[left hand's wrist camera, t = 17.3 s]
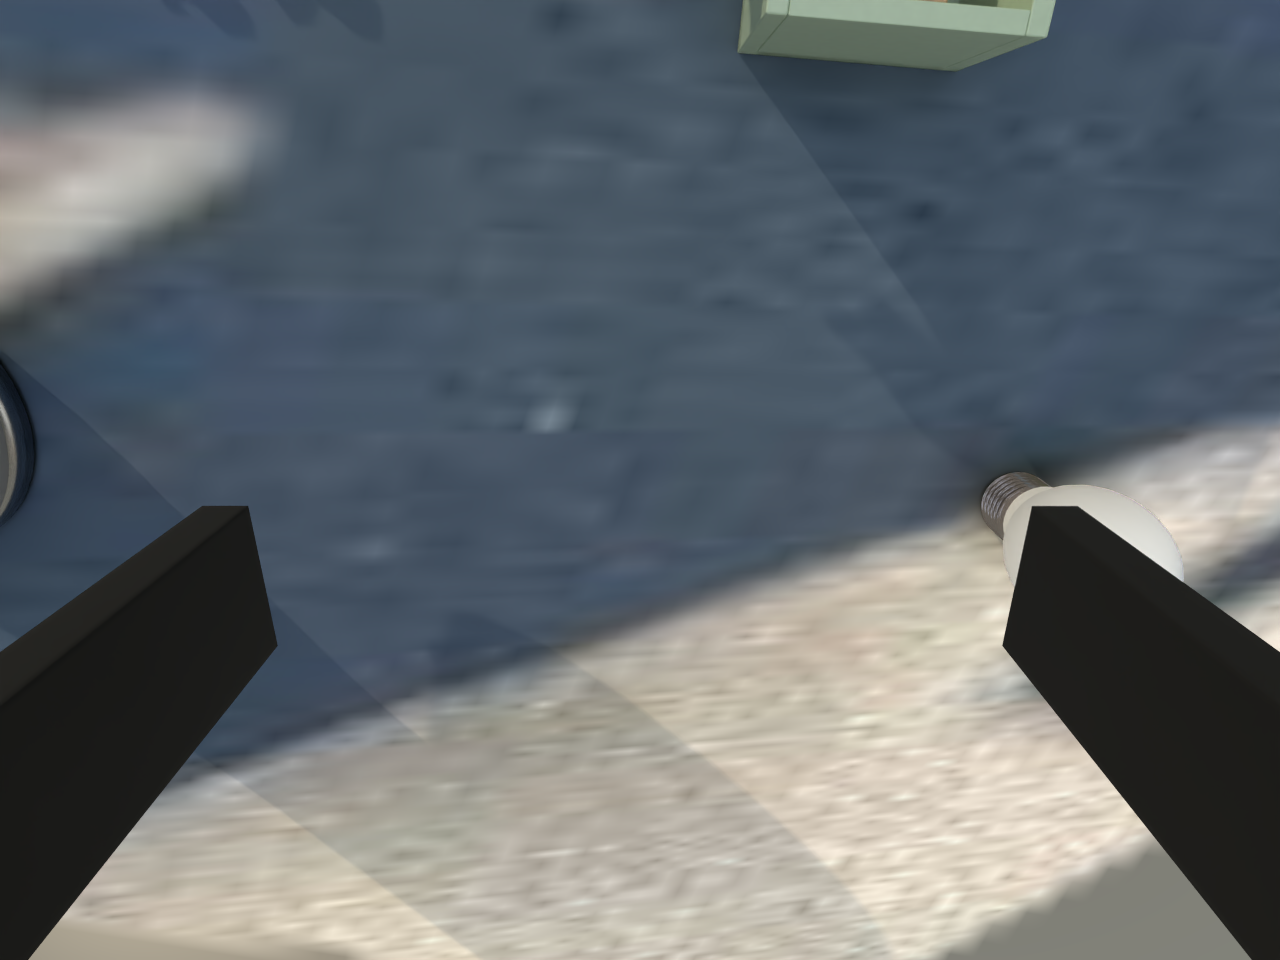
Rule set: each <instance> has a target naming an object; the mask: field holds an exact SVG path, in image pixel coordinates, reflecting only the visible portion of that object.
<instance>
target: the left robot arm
mask: <svg viewBox="0 0 1280 960" xmlns="http://www.w3.org/2000/svg"><path fill="white" fill-rule="evenodd" d="M33 465H34V445H33V438H32V431H31V427H30V423H29V420H28V416H27V413H26V411H25V408H24V405H23V402H22V400H21V398H20V396H19V394H18V392H17V390H16V388H15V386H14V384H13V383H12V381H11V379H10V377H9V376H8V374H7V373H6V371H5V370H4V368H3V367H2V365H1V364H0V526H2V525H3V524H4V523H5V522H6V521H7V520H8V519H9V518H10V517H11V516H12V515H13V514H14V513H15V512H16V510H17V509H18V508H19V506H20V505H21V503H22V501H23V500H24V497H25V495H26V493H27V491H28V488H29V485H30V482H31V478H32V473H33ZM277 646H278V645H277V641H276V636H275V631H274V626H273V622H272V617H271V612H270V607H269V603H268V598H267V593H266V588H265V584H264V579H263V574H262V569H261V565H260V560H259V555H258V551H257V546H256V541H255V536H254V532H253V527H252V522H251V517H250V513H249V508H248V506H202V507H200V508H199V509H197V510H196V511H195V512H193V513H192V514H191V515H189V516H188V517H186V518H185V519H184V520H182V521H181V522H180V523H178V524H177V525H175V526H174V527H173V528H171V529H170V530H168V531H167V532H166V533H164V534H163V535H162V536H160V537H159V538H157V539H156V540H155V541H153V542H152V543H150V544H149V545H148V546H146V547H145V548H144V549H142V550H141V551H139V552H138V553H137V554H135V555H134V556H132V557H131V558H130V559H128V560H127V561H126V562H124V563H123V564H121V565H120V566H119V567H117V568H116V569H115V570H113V571H112V572H110V573H109V574H108V575H106V576H105V577H103V578H102V579H101V580H99V581H98V582H97V583H95V584H94V585H92V586H91V587H90V588H88V589H87V590H85V591H84V592H83V593H81V594H80V595H79V596H77V597H76V598H74V599H73V600H72V601H70V602H69V603H67V604H66V605H65V606H63V607H62V608H61V609H59V610H58V611H56V612H55V613H54V614H52V615H51V616H49V617H48V618H47V619H45V620H44V621H43V622H41V623H40V624H38V625H37V626H36V627H34V628H33V629H32V630H30V631H29V632H27V633H26V634H25V635H23V636H22V637H20V638H19V639H18V640H16V641H15V642H14V643H12V644H11V645H9V646H8V647H7V648H5V649H4V650H2V651H1V652H0V960H28V959H29V958H30V957H31V955H32V954H33V953H34V952H35V950H36V949H37V948H38V947H39V945H40V944H41V943H42V942H43V940H44V939H45V938H46V936H47V935H48V934H49V933H50V932H51V930H52V929H53V928H54V927H55V925H56V924H57V923H58V922H59V920H60V919H61V918H62V916H63V915H64V914H65V913H66V911H67V910H68V909H69V908H70V906H71V905H72V904H73V903H74V901H75V900H76V899H77V898H78V896H79V895H80V894H81V893H82V891H83V890H84V889H85V888H86V886H87V885H88V884H89V882H90V881H91V880H92V879H93V877H94V876H95V875H96V874H97V872H98V871H99V870H100V869H101V867H102V866H103V865H104V864H105V862H106V861H107V860H108V859H109V857H110V856H111V855H112V854H113V852H114V851H115V850H116V849H117V847H118V846H119V845H120V843H121V842H122V841H123V840H124V838H125V837H126V836H127V835H128V833H129V832H130V831H131V830H132V828H133V827H134V826H135V825H136V823H137V822H138V821H139V820H140V818H141V817H142V816H143V815H144V813H145V812H146V811H147V809H148V808H149V807H150V806H151V804H152V803H153V802H154V801H155V799H156V798H157V797H158V796H159V794H160V793H161V792H162V791H163V789H164V788H165V787H166V786H167V784H168V783H169V782H170V781H171V779H172V778H173V777H174V775H175V774H176V773H177V772H178V770H179V769H180V768H181V767H182V765H183V764H184V763H185V762H186V760H187V759H188V758H189V757H190V755H191V754H192V753H193V752H194V750H195V749H196V748H197V747H198V745H199V744H200V743H201V742H202V740H203V739H204V738H205V736H206V735H207V734H208V733H209V731H210V730H211V729H212V728H213V726H214V725H215V724H216V723H217V721H218V720H219V719H220V718H221V716H222V715H223V714H224V713H225V711H226V710H227V709H228V708H229V706H230V705H231V704H232V702H233V701H234V700H235V699H236V697H237V696H238V695H239V694H240V692H241V691H242V690H243V689H244V687H245V686H246V685H247V684H248V682H249V681H250V680H251V679H252V677H253V676H254V675H255V674H256V672H257V671H258V670H259V669H260V667H261V666H262V665H263V663H264V662H265V661H266V660H267V658H268V657H269V656H270V655H271V653H272V652H273V651H274V650H275V648H276V647H277ZM1002 646H1003V647H1004V648H1005V650H1006V651H1007V652H1008V653H1009V655H1010V656H1011V657H1012V658H1013V660H1014V661H1015V662H1016V663H1017V665H1018V666H1019V667H1020V669H1021V670H1022V671H1023V672H1024V674H1025V675H1026V676H1027V677H1028V679H1029V680H1030V681H1031V682H1032V684H1033V685H1034V686H1035V687H1036V689H1037V690H1038V691H1039V692H1040V694H1041V695H1042V696H1043V697H1044V699H1045V700H1046V701H1047V702H1048V704H1049V705H1050V706H1051V708H1052V709H1053V710H1054V711H1055V713H1056V714H1057V715H1058V716H1059V718H1060V719H1061V720H1062V721H1063V723H1064V724H1065V725H1066V726H1067V728H1068V729H1069V730H1070V731H1071V733H1072V734H1073V735H1074V736H1075V738H1076V739H1077V740H1078V742H1079V743H1080V744H1081V745H1082V747H1083V748H1084V749H1085V750H1086V752H1087V753H1088V754H1089V755H1090V757H1091V758H1092V759H1093V760H1094V762H1095V763H1096V764H1097V765H1098V767H1099V768H1100V769H1101V770H1102V772H1103V773H1104V774H1105V775H1106V777H1107V778H1108V779H1109V781H1110V782H1111V783H1112V784H1113V786H1114V787H1115V788H1116V789H1117V791H1118V792H1119V793H1120V794H1121V796H1122V797H1123V798H1124V799H1125V801H1126V802H1127V803H1128V804H1129V806H1130V807H1131V808H1132V809H1133V811H1134V812H1135V813H1136V815H1137V816H1138V817H1139V818H1140V820H1141V821H1142V822H1143V823H1144V825H1145V826H1146V827H1147V828H1148V830H1149V831H1150V832H1151V833H1152V835H1153V836H1154V837H1155V838H1156V840H1157V841H1158V842H1159V843H1160V845H1161V846H1162V847H1163V849H1164V850H1165V851H1166V852H1167V854H1168V855H1169V856H1170V857H1171V859H1172V860H1173V861H1174V862H1175V864H1176V865H1177V866H1178V867H1179V869H1180V870H1181V871H1182V872H1183V874H1184V875H1185V876H1186V877H1187V879H1188V880H1189V881H1190V882H1191V884H1192V885H1193V886H1194V888H1195V889H1196V890H1197V891H1198V893H1199V894H1200V895H1201V896H1202V898H1203V899H1204V900H1205V901H1206V903H1207V904H1208V905H1209V906H1210V908H1211V909H1212V910H1213V911H1214V913H1215V914H1216V915H1217V916H1218V918H1219V919H1220V920H1221V922H1222V923H1223V924H1224V925H1225V927H1226V928H1227V929H1228V930H1229V932H1230V933H1231V934H1232V935H1233V937H1234V938H1235V939H1236V940H1237V942H1238V943H1239V944H1240V945H1241V947H1242V948H1243V949H1244V950H1245V952H1246V953H1247V954H1248V955H1249V957H1250V958H1251V959H1252V960H1280V652H1279V651H1278V650H1276V649H1275V648H1273V647H1272V646H1271V645H1269V644H1268V643H1266V642H1265V641H1264V640H1262V639H1261V638H1260V637H1258V636H1257V635H1255V634H1254V633H1253V632H1251V631H1250V630H1248V629H1247V628H1246V627H1244V626H1243V625H1242V624H1240V623H1239V622H1237V621H1236V620H1235V619H1233V618H1232V617H1231V616H1229V615H1228V614H1226V613H1225V612H1224V611H1222V610H1221V609H1219V608H1218V607H1217V606H1215V605H1214V604H1213V603H1211V602H1210V601H1208V600H1207V599H1206V598H1204V597H1203V596H1201V595H1200V594H1199V593H1197V592H1196V591H1195V590H1193V589H1192V588H1190V587H1189V586H1188V585H1186V584H1185V583H1183V582H1182V581H1181V580H1179V579H1178V578H1177V577H1175V576H1174V575H1172V574H1171V573H1170V572H1168V571H1167V570H1165V569H1164V568H1163V567H1161V566H1160V565H1159V564H1157V563H1156V562H1154V561H1153V560H1152V559H1150V558H1149V557H1148V556H1146V555H1145V554H1143V553H1142V552H1141V551H1139V550H1138V549H1136V548H1135V547H1134V546H1132V545H1131V544H1130V543H1128V542H1127V541H1125V540H1124V539H1123V538H1121V537H1120V536H1118V535H1117V534H1116V533H1114V532H1113V531H1112V530H1110V529H1109V528H1107V527H1106V526H1105V525H1103V524H1102V523H1100V522H1099V521H1098V520H1096V519H1095V518H1094V517H1092V516H1091V515H1089V514H1088V513H1087V512H1085V511H1084V510H1083V509H1081V508H1080V507H1078V506H1032V508H1031V513H1030V517H1029V522H1028V527H1027V532H1026V536H1025V541H1024V546H1023V551H1022V555H1021V560H1020V565H1019V569H1018V574H1017V579H1016V584H1015V588H1014V593H1013V598H1012V603H1011V607H1010V612H1009V617H1008V622H1007V626H1006V631H1005V636H1004V641H1003V645H1002Z"/></svg>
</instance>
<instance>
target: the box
mask: <svg viewBox="0 0 1280 960" xmlns="http://www.w3.org/2000/svg"><path fill="white" fill-rule="evenodd" d="M1055 2H1056V0H948V2H947V3H944V2H933V1H921V0H743V6H742V15H741V24H740V34H739V43H738V53H744V54H755V55H767V56H779V57H791V58H802V59H814V60H826V61H838V62H850V63H862V64H874V65H885V66H897V67H909V68H921V69H933V70H945V71H959V70H962V69H964V68H966V67H969V66H972V65H974V64H977V63H980V62H982V61H985V60H988V59H990V58H993V57H996V56H998V55H1001V54H1004V53H1006V52H1009V51H1012V50H1014V49H1017V48H1020V47H1022V46H1025V45H1028V44H1031V43H1033V42H1036V41H1039V40H1041V39H1044V38H1046V37H1047V35H1048V31H1049V27H1050V23H1051V18H1052V14H1053V10H1054V6H1055Z"/></svg>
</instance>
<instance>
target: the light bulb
mask: <svg viewBox="0 0 1280 960" xmlns="http://www.w3.org/2000/svg"><path fill="white" fill-rule="evenodd" d="M1032 506H1078V507H1080V508H1081V509H1083V510H1084V511H1085V512H1087V513H1088V514H1089V515H1091V516H1092V517H1094V518H1095V519H1096V520H1098V521H1099V522H1100V523H1102V524H1103V525H1105V526H1106V527H1107V528H1109V529H1110V530H1112V531H1113V532H1114V533H1116V534H1117V535H1118V536H1120V537H1121V538H1123V539H1124V540H1125V541H1127V542H1128V543H1130V544H1131V545H1132V546H1134V547H1135V548H1136V549H1138V550H1139V551H1141V552H1142V553H1143V554H1145V555H1146V556H1148V557H1149V558H1150V559H1152V560H1153V561H1154V562H1156V563H1157V564H1159V565H1160V566H1161V567H1163V568H1164V569H1165V570H1167V571H1168V572H1170V573H1171V574H1172V575H1174V576H1175V577H1177V578H1178V579H1179V580H1181V581H1182V582H1183V577H1184V576H1183V563H1182V558H1181V555H1180V552H1179V550H1178V547H1177V545H1176V543H1175V541H1174V539H1173V537H1172V535H1171V534H1170V533H1169V531H1168V530H1167V529H1166V527H1165V526H1164V525H1163V524H1162V523H1161V521H1160V520H1159V519H1158V518H1157V517H1156V516H1155V515H1154V514H1153V513H1151V512H1150V511H1149V510H1148V509H1146V508H1145V507H1144V506H1142V505H1141V504H1139V503H1138V502H1136V501H1135V500H1133V499H1131V498H1129V497H1127V496H1125V495H1123V494H1121V493H1118V492H1115V491H1113V490H1110V489H1106V488H1102V487H1097V486H1091V485H1063V486H1058V487H1050V486H1049V485H1048V484H1046V483H1045V482H1044V481H1042V480H1041V479H1039V478H1038V477H1036V476H1034V475H1032V474H1029V473H1023V472H1015V473H1009V474H1006V475H1003V476H1001V477H999V478H998V479H996V480H995V481H994V482H992V483H991V484H990V486H989V487H988V488H987V489H986V491H985V493H984V495H983V498H982V502H981V511H982V516H983V518H984V520H985V522H986V524H987V525H988V526H989V527H990V528H991V529H992V530H993V531H994V532H995V533H996V534H997V535H998V536H999V537H1000V538H1001V539H1002V540H1003V557H1004V564H1005V567H1006V570H1007V573H1008V576H1009V578H1010V581H1011V583H1012V584H1013V586H1014V587H1015V584H1016V579H1017V574H1018V569H1019V565H1020V560H1021V555H1022V551H1023V546H1024V541H1025V536H1026V532H1027V527H1028V522H1029V517H1030V513H1031V508H1032Z"/></svg>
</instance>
